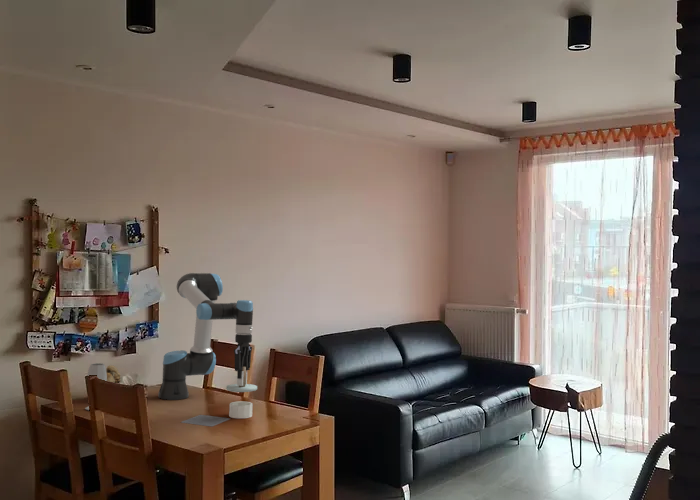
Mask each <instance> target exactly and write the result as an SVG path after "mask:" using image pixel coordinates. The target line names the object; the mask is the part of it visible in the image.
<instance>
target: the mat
mask: <svg viewBox="0 0 700 500" xmlns="http://www.w3.org/2000/svg"><path fill="white" fill-rule="evenodd" d="M230 420H231V417H230V418H227V417H220V416H212V415H207V414H206V415H205V414H199V415H196V416H194V417H190V418H188V419H186V420H182V421H180V423H181V424H182V423H183V424H191V425H195V426H196V425H197V426H206V427H214V426H217V425H220V424H222V423H224V422H227V421H230Z"/></svg>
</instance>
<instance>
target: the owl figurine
mask: <svg viewBox="0 0 700 500" xmlns="http://www.w3.org/2000/svg"><path fill="white" fill-rule="evenodd" d="M106 373H107V381H109V382H114V383H119V384H120V382H121V373H120V372H119V369H118V367H116V365H115V366H114V365H111V364H110V365H107V367H106Z"/></svg>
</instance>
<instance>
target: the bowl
mask: <svg viewBox="0 0 700 500" xmlns="http://www.w3.org/2000/svg"><path fill="white" fill-rule="evenodd" d="M228 416H229V417H230V418H232V419H249V418H252V417H253V402H251V401H232V402H230V403H229V413H228Z"/></svg>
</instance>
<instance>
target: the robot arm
mask: <svg viewBox="0 0 700 500" xmlns="http://www.w3.org/2000/svg"><path fill="white" fill-rule="evenodd" d="M223 287H224V285H223V281H222V279H221V277H220V275H219V274H217V273H211V272H209V273H208V272H207V273H205V272H203V273H202V272H201V273H194V272H189V273H186V274H183V275H181V277H180V278H179V279H178V280H177V282H176V291H177V293H178V295H180V297H182V298H183V299H186V300H187V301H188V302H189V303H190V304H191V305H192V306H193V307H194V308H195V309H196V310H195V313H196V314H195V315H196V316H195V324H194V325H195V327H194V336H193V337H194V338H193V346H192V347H190V349H189V353H188V351H186V350H173V351H168V352H166V353H164V355H163V358H162V359H163V361H162V382H161V385H160V388H159V391H158V394H157V396H158V399H160V398H161V400H166V399H167V400H166V401H168V400H170V401H172V400H173V401H174V400H175V401H176V400H186V399H188V398H189V394H190V393H189V389H188V385H187V382H186V381H187V380H186V379H187V376H189V377H190V376H199V375H200V376H205V375H210V374H211V373H213V372H214V369H215V368H216V364H217V358H216V354H215V352H213V348H212V347H211V340H212V332H213V331H212V330H213V321H215V320H235V335H234V336H235V338H234V339H235V341H234V342H235V343H237V346H236V348H234V349H233V354H234V371H235V372H237V373H236V374H237V376H236V384H237V385H238V386H243V372H244V371H243V366H244V367H246V380H245V385H247V384H248V371H250V370H251V362H252V361H251V360H252V350H253V347H252V346H250V343H252V341H253V335H252V333H253V315H254V313H253V312H254V302H253V301H252V300H248V299H238V300H236V301H237V302H229V303H228V302H227V303H226V302H224V303H222V302H220V303H218V302H217V301H218V297H220V296H222V293H223ZM216 302H217V303H216Z"/></svg>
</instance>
